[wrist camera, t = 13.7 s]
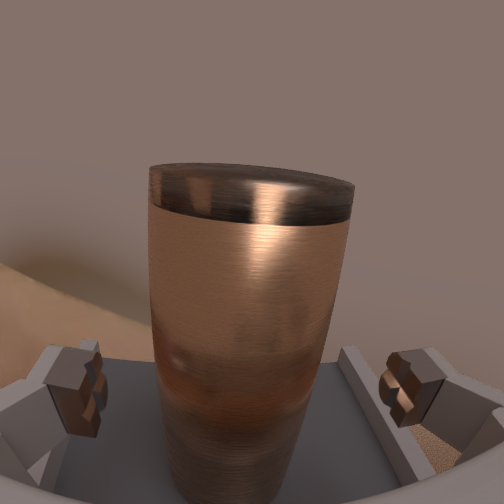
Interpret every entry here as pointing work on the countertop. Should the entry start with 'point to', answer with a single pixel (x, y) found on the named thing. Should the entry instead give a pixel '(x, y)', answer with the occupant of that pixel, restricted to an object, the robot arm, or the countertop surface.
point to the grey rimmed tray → (301, 465)
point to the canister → (240, 317)
